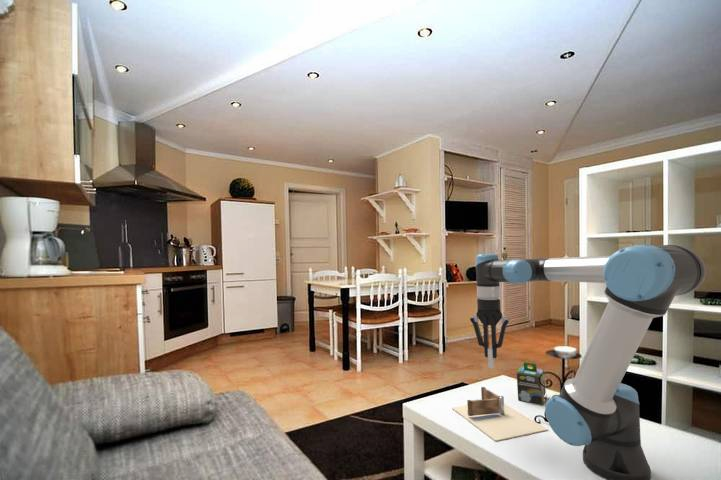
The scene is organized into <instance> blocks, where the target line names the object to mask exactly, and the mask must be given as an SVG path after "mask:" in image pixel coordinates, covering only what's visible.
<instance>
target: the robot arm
mask: <svg viewBox="0 0 721 480" xmlns="http://www.w3.org/2000/svg"><path fill="white" fill-rule="evenodd" d="M475 272H476V273H475V274H476V276H475V277H476V278H475V279H476V297H477V302H476V303H477V305H476V306H477V311H476V314H475V315H474V316H472V317H470V319H469V320H470V322H471V323H472V325H473V328H474V333H475V336H476V339H477V342H478V343H477V344H478V346H481V347H483V348H484V349H483V350H484V357H485V358H487V364H488V365H487V367H488V369H494V367H495V359H496V358H497V357H498V349H499V348H502V346H503V343H504V339H505V334H506V330H507V329H506V328H507V325H508V324H509V323H510V319H508V318H506V317H505V316H503V313H502V311H501V310H502V309H501V299H499V298H501V291H500V290H501V289H500V283H507V284H512V285H516V284H519V285H520V284H521V285H522V284H526V283H527V282H528V283H529V282H561V283H562V282H568V283H593V284H594V283H595V284H596V283H597V284H598V283H599V284H605V285H606V287H605V290H604V295H605V297H606V298H607V300H608V302H607V305H606V307H605V309H604V311H603V313H602V316H601V318H600V320H599V321H598V325H597V327H596V329H595V331H594V334H593V335H592V338H591V340H590V343H589V344H588V347H587V349H586V352H585V353H584V356H583V357H582V360H581V362H580V365H579V368H578V369H577V371H576V373H575V376H574V377H572V378H568V379H566V380H565V382H564V383H563V385H562V388H561V390H560V393H559V394H558V395H557V396H552V397H551V398H549V399H548V400H547V402H546V404H545V406H544V407H545V408H544V411H545V412H544V413H545V418H546V420H547V422H548V425H549V426H550V428H551V429H552V431H553V433H554V434H555V435H556V436H557V437H558V438H559V439H560V440H561V441H563V442H564V443H566V444H567V445H570V446H574V447H581V446H582V447H583V450H582V460H583V461H582V462H583V464H584V465H585V466H586V468H587V469H589V470H590V471H591V472H593V473H594V474H596V475H598V476H599V477H602V478H604V479H606V480H652V471H651V467H650V464H649V463H648V460H647V457H646V455H645V452H644V449H643V447H642V445H641V444H642V443H641V441H642V440H641V420H640V418H641V416H640V415H641V414H640V405H641V404H640V401H639V395H638V392H637V390H636V389H635V388H633V387H632V386H630V385H627V384H625V383H622V381H623V378H624V376H625V374H626V372H627V370H628V368H629V367H630V365H631V363H632V360H633V359H634V357H635V355H636V353H637V350H638V348H639V347H640V345H641V343H642V341H643V339H644V337H645V335H646V333H647V331H648V329H649V327H650V325H651V323H652V321H653V319H655V318H659V317H663V316H665V315H666V314H667V312H668V310H669V308H670V306H671V304H672V302H673V301H674V299H675V297H676V296H683V295H688V294H689V293H692V292H694V291H696V290H697V289H698V288H699V287H700V286H701V285H702V284H703V282H704V281H705V278H706V276H707V269H706V265H705V262H704V260H703V259H702V258H701V257H700V256H699V254H697V253H696V252H695V251H693V250H692V249H689V248H687V247H685V246H681V245H678V244H635V245H631V246H627V247H623V248H620V249H619V250H616V251H615V252H614V253H613V254H611V255H600V256H599V255H597V256H596V255H595V256H574V257H552V258H551V257H550V258H549V257H548V258H547V257H541V258H528V259H527V258H523V259H521V258H520V259H519V258H517V259H516V258H515V259H500V258H499V255H498V254H497V253H487V254H486V253H482V254H481V253H479V254H477V255H476V257H475ZM479 321H480V323H481V324H482V328H483V336H482V331H481V329H480V325H479ZM499 322H500V323H501V324H502V325H501V327H500V332H499V336H498V337H499V338H497V325H498V323H499ZM489 326H490V330H491V346H490V340H489V337H490V336H489ZM497 339H498V341H497Z"/></svg>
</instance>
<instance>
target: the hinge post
mask: <svg viewBox="0 0 721 480" xmlns="http://www.w3.org/2000/svg"><path fill="white" fill-rule="evenodd" d="M498 396H499V408H500V415H504V404H505V397H504V395H498Z"/></svg>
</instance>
